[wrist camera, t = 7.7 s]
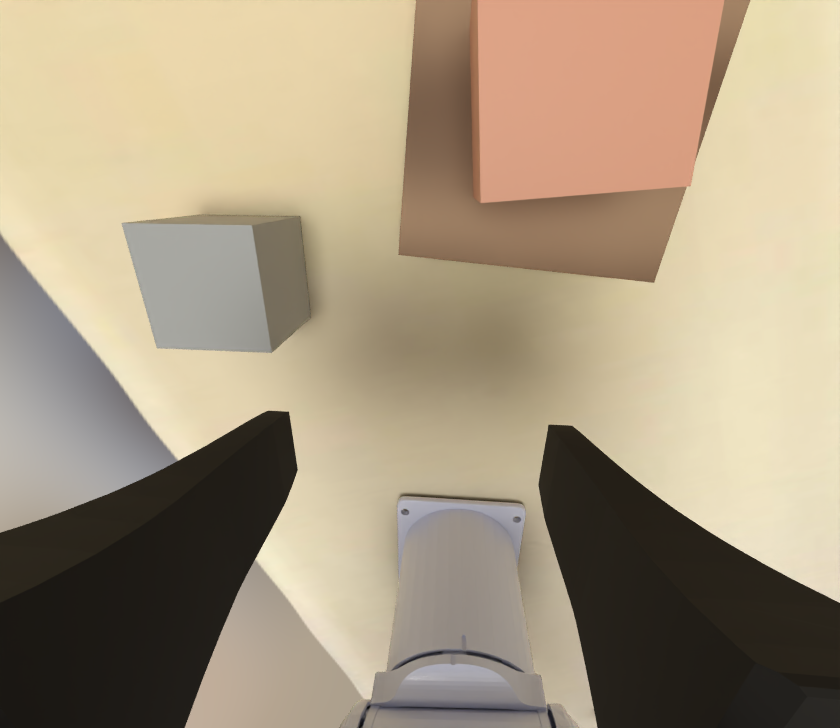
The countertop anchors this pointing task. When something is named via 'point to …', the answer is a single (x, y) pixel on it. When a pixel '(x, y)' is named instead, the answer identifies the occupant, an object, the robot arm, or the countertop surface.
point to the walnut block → (532, 218)
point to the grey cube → (221, 280)
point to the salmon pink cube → (587, 94)
